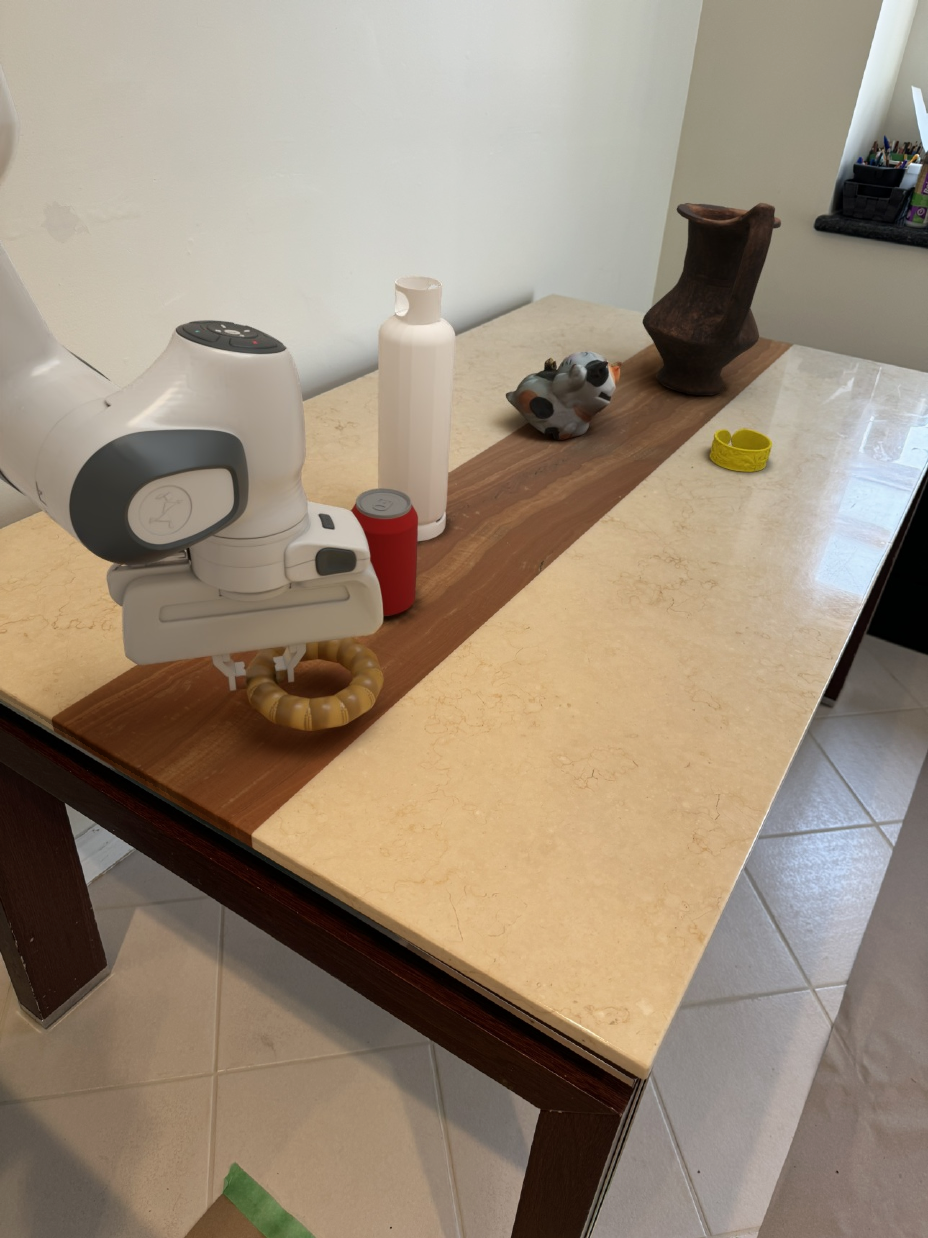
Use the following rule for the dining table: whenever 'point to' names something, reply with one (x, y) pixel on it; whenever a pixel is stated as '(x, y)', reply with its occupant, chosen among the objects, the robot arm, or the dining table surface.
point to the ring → (321, 709)
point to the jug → (711, 296)
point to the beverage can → (390, 544)
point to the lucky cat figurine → (566, 394)
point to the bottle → (416, 400)
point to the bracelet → (740, 450)
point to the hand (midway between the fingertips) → (261, 682)
